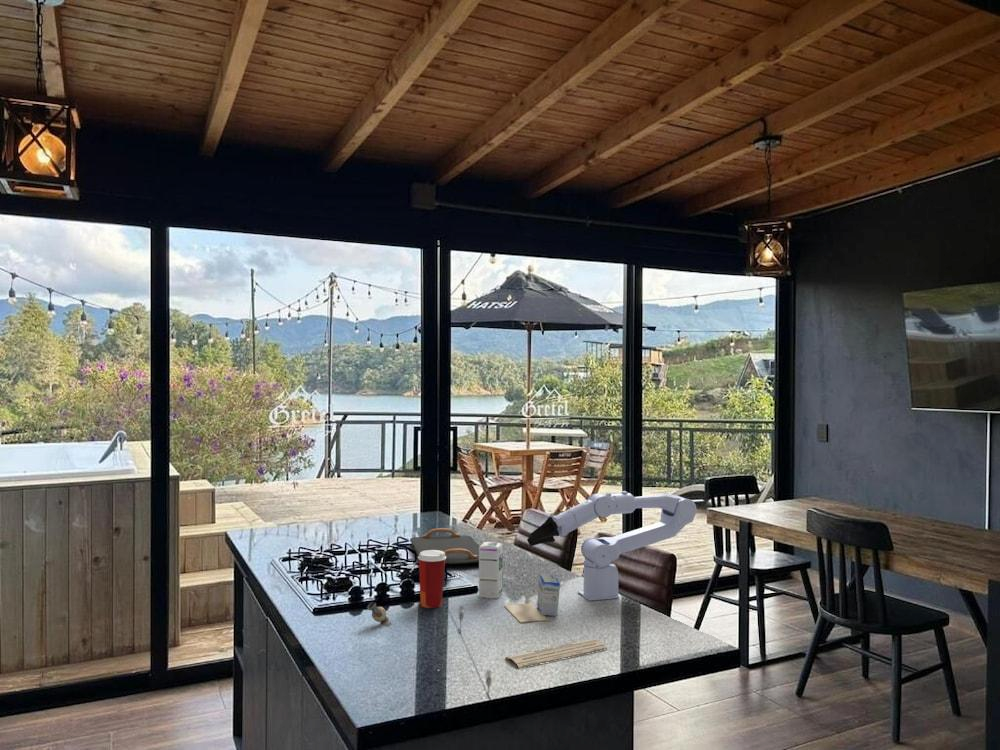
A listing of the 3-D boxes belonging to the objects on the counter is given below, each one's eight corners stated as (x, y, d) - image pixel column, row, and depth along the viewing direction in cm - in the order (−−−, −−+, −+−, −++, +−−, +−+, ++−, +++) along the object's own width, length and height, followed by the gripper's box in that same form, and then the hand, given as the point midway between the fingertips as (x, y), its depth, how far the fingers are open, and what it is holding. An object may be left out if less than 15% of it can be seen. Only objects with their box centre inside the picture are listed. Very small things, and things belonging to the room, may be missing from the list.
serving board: (493, 569, 229) (493, 550, 229) (421, 572, 223) (422, 553, 223) (469, 541, 267) (469, 525, 267) (407, 543, 261) (408, 527, 261)
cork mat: (530, 604, 193) (530, 603, 193) (548, 620, 181) (548, 619, 181) (504, 606, 191) (504, 605, 191) (520, 623, 178) (520, 621, 178)
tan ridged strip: (518, 672, 151) (518, 664, 151) (502, 660, 157) (502, 652, 157) (607, 652, 162) (607, 645, 162) (588, 642, 168) (588, 634, 168)
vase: (370, 630, 171) (370, 605, 172) (364, 625, 176) (363, 600, 176) (392, 627, 174) (391, 602, 174) (385, 622, 179) (384, 597, 179)
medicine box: (536, 605, 191) (539, 573, 192) (553, 606, 192) (555, 574, 192) (540, 615, 184) (543, 581, 184) (557, 616, 184) (560, 582, 184)
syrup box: (498, 599, 197) (499, 547, 197) (477, 597, 198) (478, 545, 198) (502, 593, 203) (503, 542, 203) (482, 591, 204) (483, 541, 204)
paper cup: (450, 602, 193) (451, 551, 193) (436, 611, 186) (437, 557, 186) (425, 598, 196) (426, 548, 196) (411, 606, 189) (412, 554, 189)
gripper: (561, 511, 208) (520, 532, 205) (569, 500, 195) (526, 521, 191) (573, 533, 205) (532, 554, 202) (582, 523, 192) (538, 545, 189)
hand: (530, 540), depth 197 cm, fingers open, 7 cm apart
